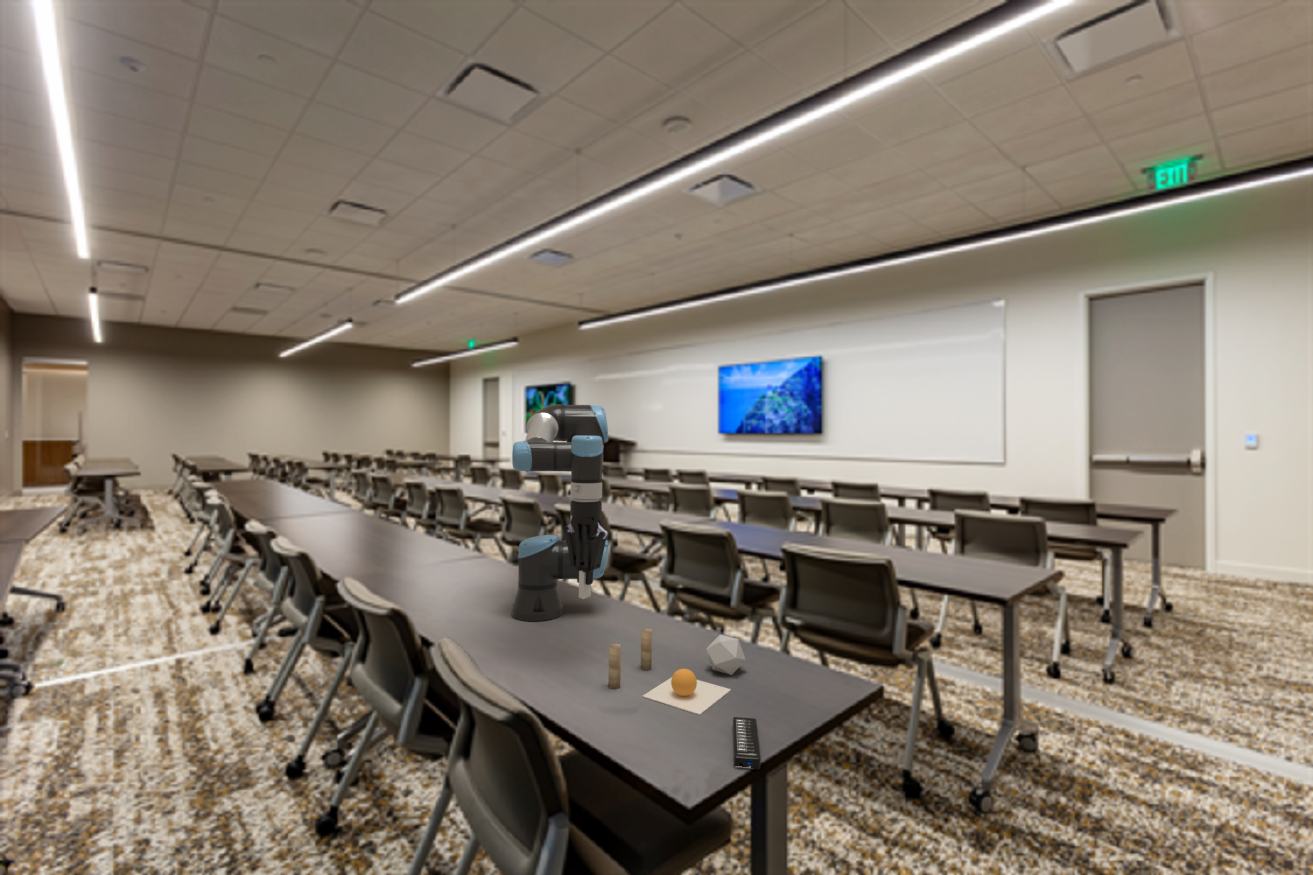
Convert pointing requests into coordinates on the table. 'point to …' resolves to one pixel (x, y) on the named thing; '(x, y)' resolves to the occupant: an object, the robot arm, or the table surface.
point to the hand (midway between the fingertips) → (584, 596)
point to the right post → (646, 649)
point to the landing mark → (693, 703)
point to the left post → (614, 665)
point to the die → (725, 654)
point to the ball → (683, 682)
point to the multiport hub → (746, 743)
